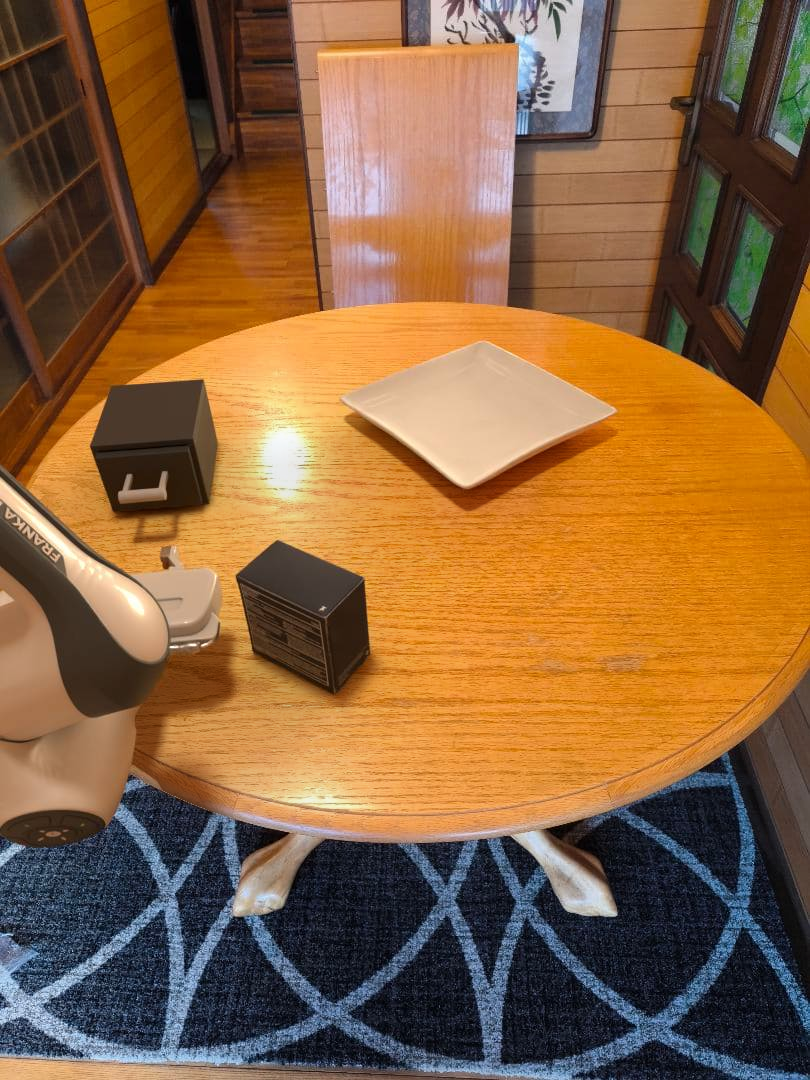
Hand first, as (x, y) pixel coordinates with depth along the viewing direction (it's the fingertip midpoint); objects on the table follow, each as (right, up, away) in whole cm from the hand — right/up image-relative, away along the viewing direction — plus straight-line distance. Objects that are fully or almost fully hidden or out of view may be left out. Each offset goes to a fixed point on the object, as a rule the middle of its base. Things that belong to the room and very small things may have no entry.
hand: (123, 554), depth 76 cm
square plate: (+38, +17, +29) cm, 51 cm away
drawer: (-2, +8, +18) cm, 20 cm away
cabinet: (-2, +10, +22) cm, 24 cm away
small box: (+19, -10, -1) cm, 21 cm away
